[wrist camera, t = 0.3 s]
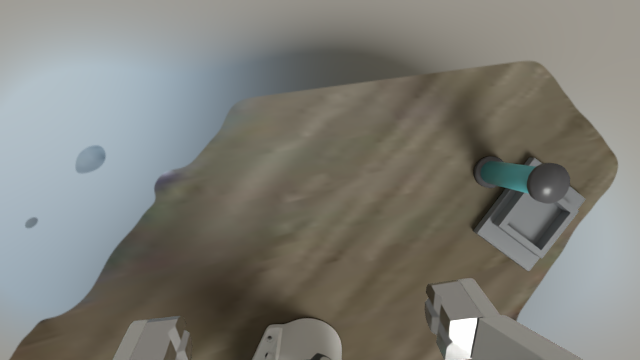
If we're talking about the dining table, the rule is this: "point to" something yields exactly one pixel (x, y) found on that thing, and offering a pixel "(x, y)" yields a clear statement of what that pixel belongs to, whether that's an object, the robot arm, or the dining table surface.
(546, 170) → the teal and grey rod
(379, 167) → the dining table surface
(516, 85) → the dining table surface
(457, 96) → the dining table surface
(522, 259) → the board
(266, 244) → the dining table surface
